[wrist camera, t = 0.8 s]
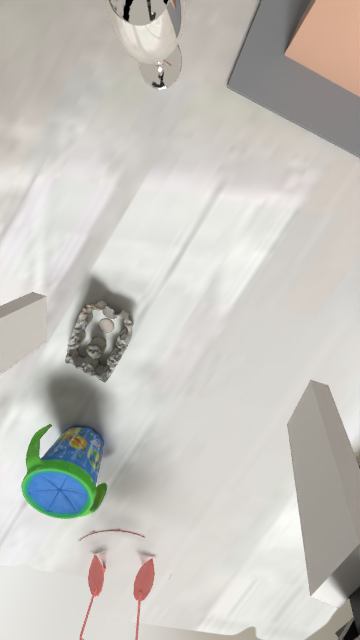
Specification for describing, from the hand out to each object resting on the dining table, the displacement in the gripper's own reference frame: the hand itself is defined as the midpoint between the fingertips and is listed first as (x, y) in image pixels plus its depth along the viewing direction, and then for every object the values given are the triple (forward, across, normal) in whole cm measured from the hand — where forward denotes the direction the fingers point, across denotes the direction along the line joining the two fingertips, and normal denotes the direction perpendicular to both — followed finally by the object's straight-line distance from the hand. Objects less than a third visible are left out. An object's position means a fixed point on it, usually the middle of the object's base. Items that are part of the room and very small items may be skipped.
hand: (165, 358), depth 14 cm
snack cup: (+21, -14, -36) cm, 44 cm away
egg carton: (+23, -14, -15) cm, 30 cm away
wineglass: (+25, -12, +18) cm, 33 cm away
